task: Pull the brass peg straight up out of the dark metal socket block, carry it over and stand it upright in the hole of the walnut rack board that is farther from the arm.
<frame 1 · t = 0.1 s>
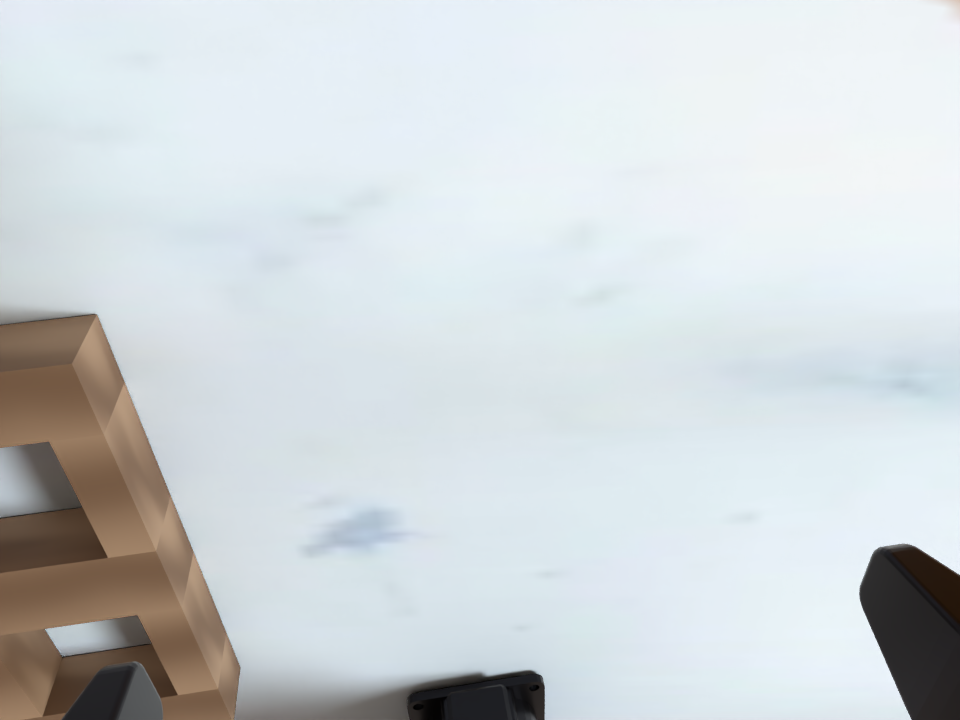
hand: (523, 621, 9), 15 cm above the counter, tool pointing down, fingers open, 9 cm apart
rack: (67, 540, 27), on the counter
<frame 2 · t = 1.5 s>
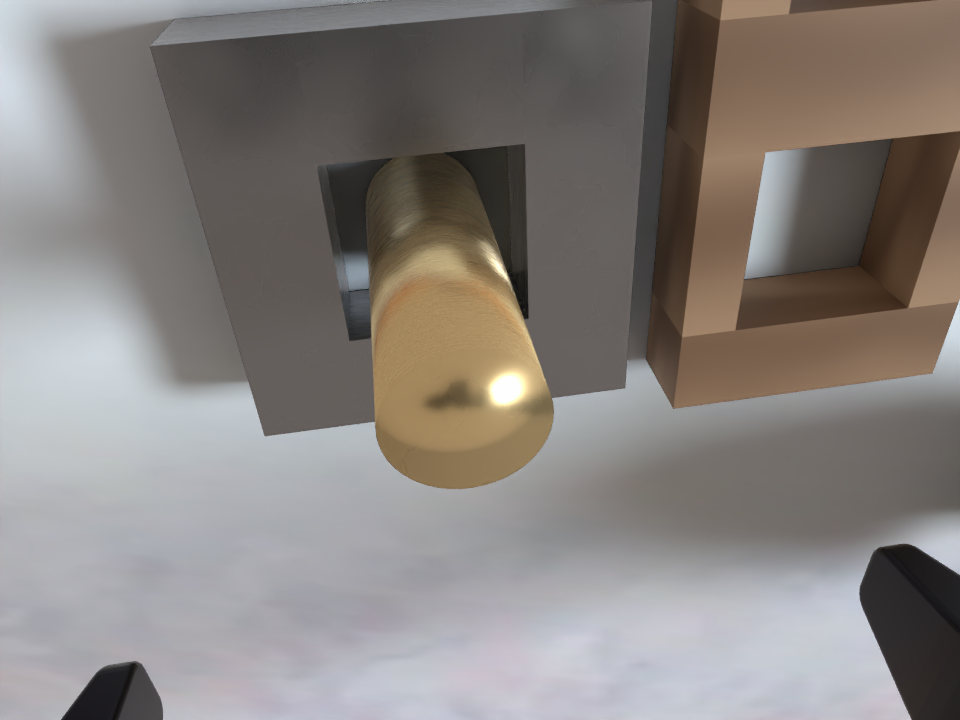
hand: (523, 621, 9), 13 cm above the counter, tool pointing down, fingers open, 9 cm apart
rack: (825, 49, 19), on the counter
peg: (439, 290, 16), in the socket block
socket block: (423, 206, 20), on the counter
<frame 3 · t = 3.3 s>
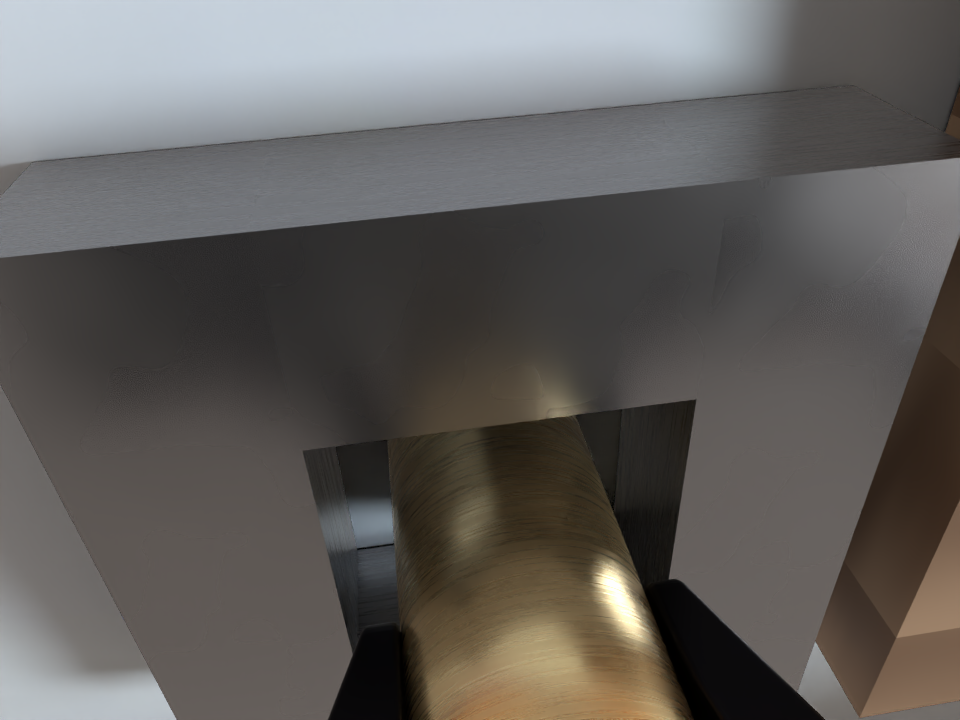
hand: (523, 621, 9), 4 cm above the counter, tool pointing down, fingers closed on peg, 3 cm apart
peg: (539, 695, 8), in the socket block, touching gripper
socket block: (481, 433, 12), on the counter
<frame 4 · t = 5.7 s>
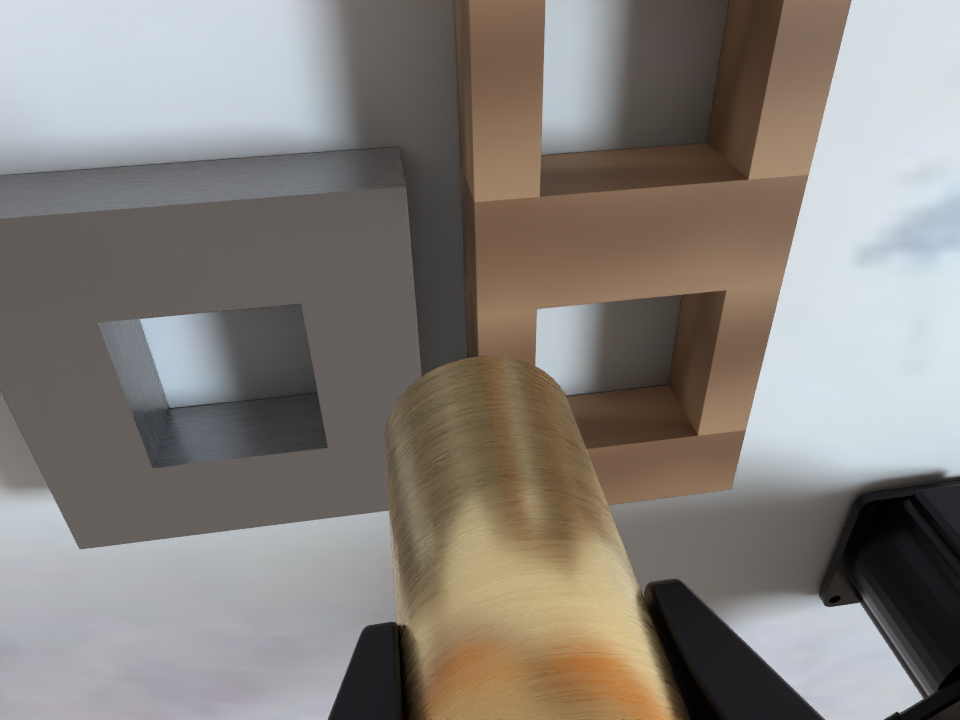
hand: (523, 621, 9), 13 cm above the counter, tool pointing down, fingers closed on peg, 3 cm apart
rack: (609, 204, 20), on the counter
peg: (536, 695, 8), point 14 cm above the counter, touching gripper
socket block: (233, 335, 21), on the counter
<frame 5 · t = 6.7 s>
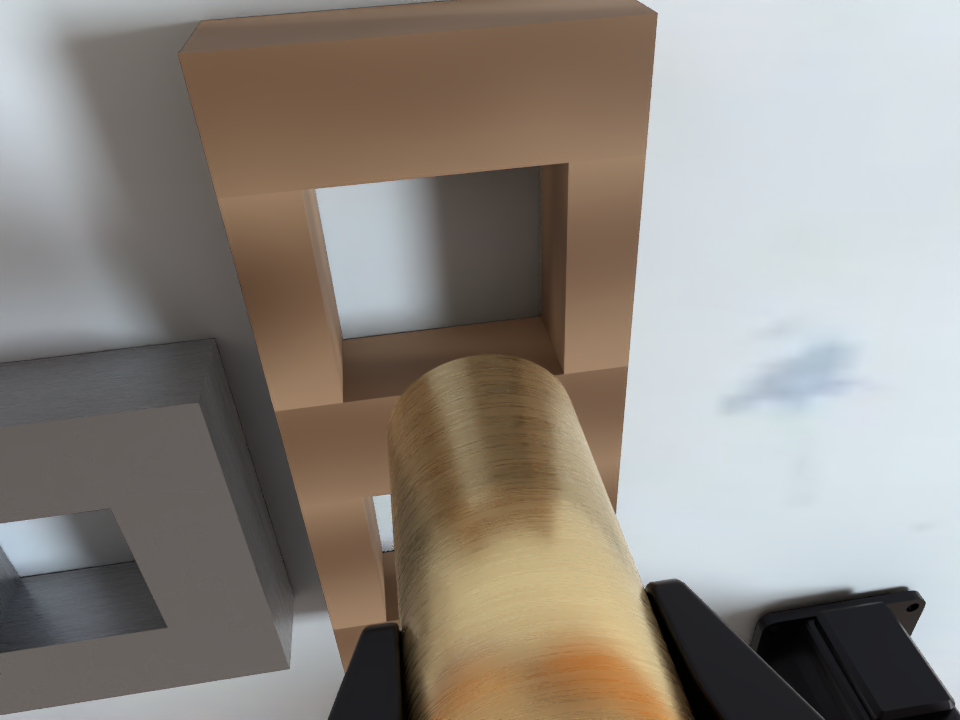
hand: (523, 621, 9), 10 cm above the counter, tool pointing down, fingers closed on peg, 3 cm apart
rack: (447, 375, 20), on the counter
peg: (540, 694, 8), point 11 cm above the counter, touching gripper
socket block: (74, 511, 21), on the counter
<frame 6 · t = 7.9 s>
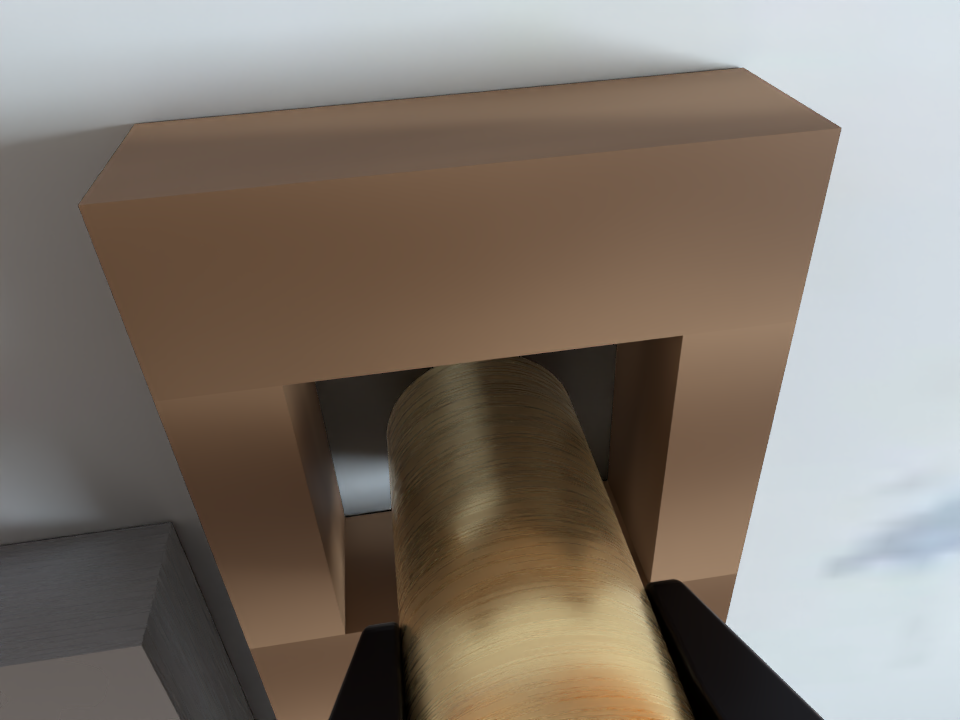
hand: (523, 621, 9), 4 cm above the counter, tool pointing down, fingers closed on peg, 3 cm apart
rack: (482, 551, 15), on the counter
peg: (539, 692, 8), in the rack, point 5 cm above the counter, touching gripper
when the fingers open (4 cm above the counter, at t = 7.9 s): peg stays where it is, resting in rack.
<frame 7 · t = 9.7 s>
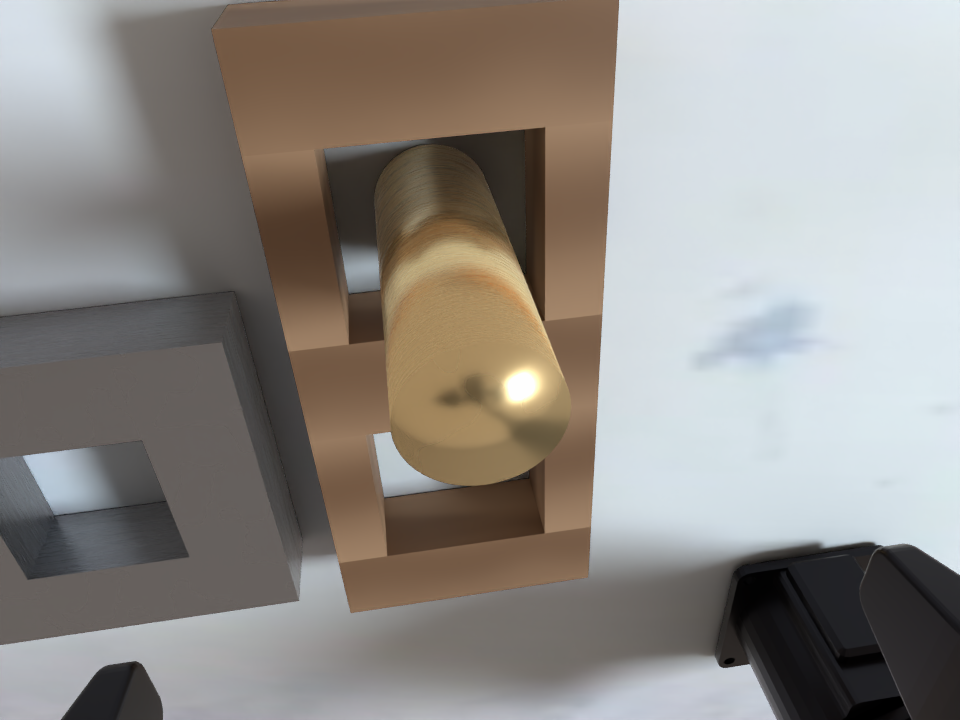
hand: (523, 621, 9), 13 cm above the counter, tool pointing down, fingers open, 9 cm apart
rack: (442, 329, 22), on the counter
peg: (451, 285, 16), in the rack
socket block: (105, 453, 23), on the counter
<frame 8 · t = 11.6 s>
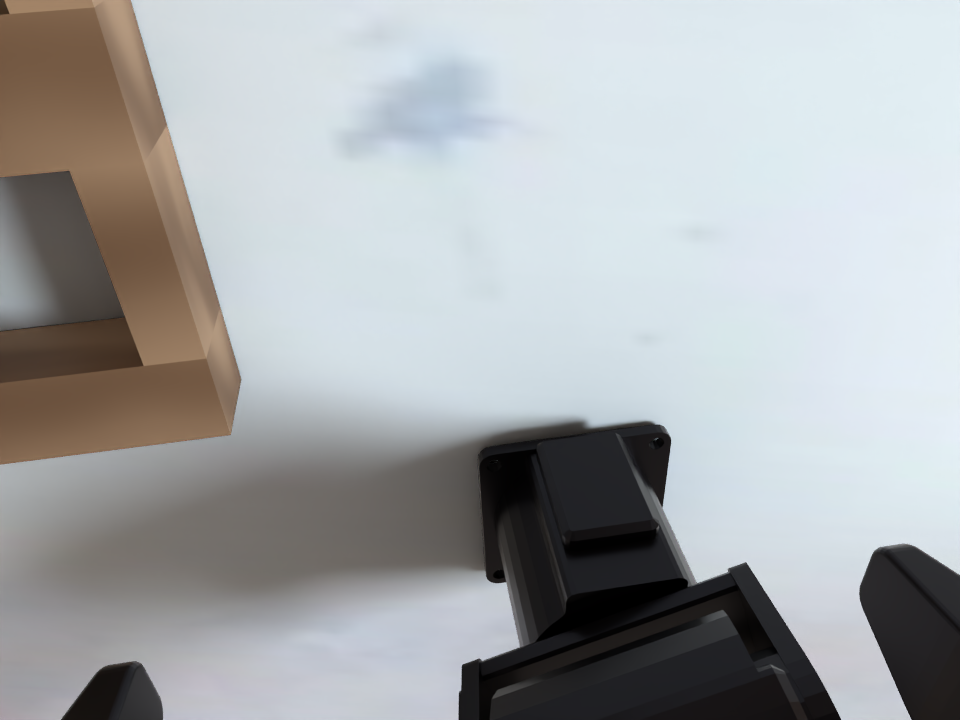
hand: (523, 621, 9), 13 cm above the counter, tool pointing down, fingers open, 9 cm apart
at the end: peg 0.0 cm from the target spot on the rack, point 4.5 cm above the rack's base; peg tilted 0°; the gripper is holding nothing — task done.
